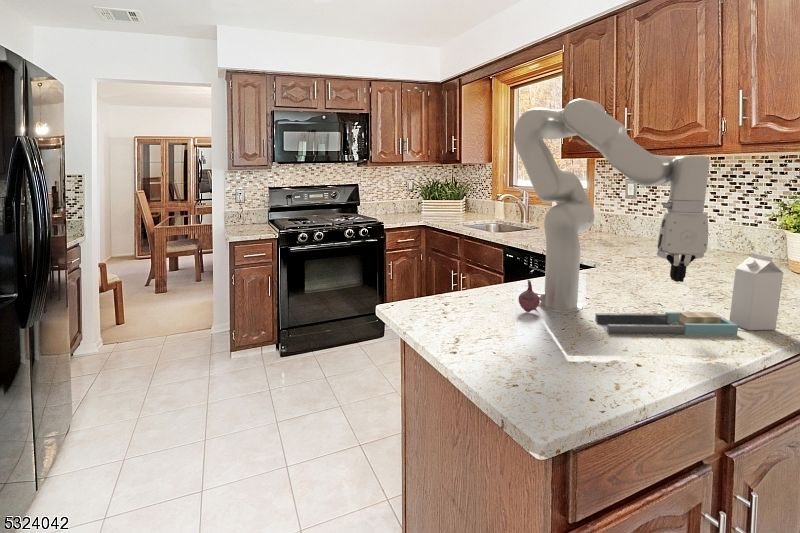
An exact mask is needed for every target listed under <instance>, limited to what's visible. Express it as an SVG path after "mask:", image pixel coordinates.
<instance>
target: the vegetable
mask: <svg viewBox="0 0 800 533" xmlns="http://www.w3.org/2000/svg"><path fill="white" fill-rule="evenodd" d="M535 292H536V291H534V290H533V286H532V282H531V280H530V279H527V289H526V290H524V291H522V292H521V293H520V294H519V296H518V298H517V299H518V303H519V306H520V307H521V308H522V309H523V311H525V312H526V313H530V312H532V311H534V310H537V308H538V307H539V303H540V302H541V301H540V299H539V296H538V295H537V294H536V293H535Z"/></svg>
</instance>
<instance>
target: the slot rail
mask: <svg viewBox="0 0 800 533" xmlns="http://www.w3.org/2000/svg"><path fill="white" fill-rule="evenodd" d="M594 320H595V322H596V323H597V324H598V325H600V327H601V328H602V329H603V330H604V331H605V332H606V334H608V335H655V336H656V335H659V336H660V335H662V336H663V335H666V336H667V335H668V336H669V335H671V336H672V335H673V336H674V335H675V336H676V335H677V336H686V335H685V331H686V327H685V326H684V325H679V324H670V323H667V321H668V315H666V314H665V313H625V312H624V313H622V312H621V313H617V312H615V313H611V312H610V313H609V312H608V313H606V312H605V313H603V312H602V313H601V312H600V313H599V312H596V313H595V318H594Z"/></svg>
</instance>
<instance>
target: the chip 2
mask: <svg viewBox="0 0 800 533" xmlns="http://www.w3.org/2000/svg"><path fill="white" fill-rule="evenodd" d="M714 313H715V312H713V313H698V314H700V315H701V316H703V317H704V324H720V323H721V317H722V316H721V315H719V314H717V313H715V314H714ZM716 314H717V315H716ZM718 315H719V316H718ZM720 316H721V317H720Z"/></svg>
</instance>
